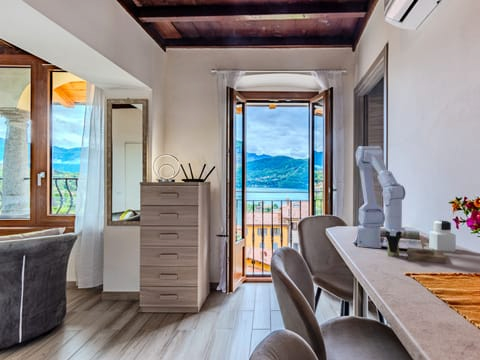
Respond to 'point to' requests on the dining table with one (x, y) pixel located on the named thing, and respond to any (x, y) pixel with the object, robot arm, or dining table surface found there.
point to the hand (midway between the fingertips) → (393, 251)
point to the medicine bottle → (442, 237)
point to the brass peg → (393, 253)
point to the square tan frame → (426, 255)
